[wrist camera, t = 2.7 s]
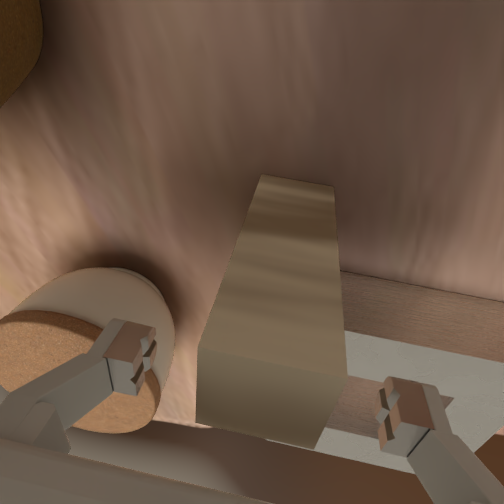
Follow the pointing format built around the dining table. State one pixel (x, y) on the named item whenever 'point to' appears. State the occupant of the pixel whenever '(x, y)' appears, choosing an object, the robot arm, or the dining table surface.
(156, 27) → the dining table surface
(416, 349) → the socket block
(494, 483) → the robot arm
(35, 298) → the lidded jar
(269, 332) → the ash peg
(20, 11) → the plant pot
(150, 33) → the dining table surface
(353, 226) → the dining table surface
